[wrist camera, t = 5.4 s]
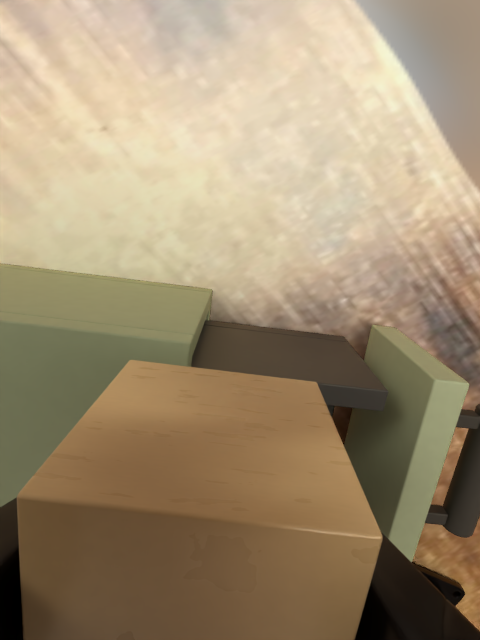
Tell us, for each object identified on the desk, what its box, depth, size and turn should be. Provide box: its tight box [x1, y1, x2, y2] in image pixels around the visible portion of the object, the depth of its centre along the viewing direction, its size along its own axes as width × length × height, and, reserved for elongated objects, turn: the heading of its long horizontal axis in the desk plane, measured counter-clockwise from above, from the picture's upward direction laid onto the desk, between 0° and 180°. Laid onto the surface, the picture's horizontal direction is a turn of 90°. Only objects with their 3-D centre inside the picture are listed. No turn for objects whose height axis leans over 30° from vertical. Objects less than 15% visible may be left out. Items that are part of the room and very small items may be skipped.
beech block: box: [17, 360, 383, 640], centre depth 7 cm, size 5×5×5 cm
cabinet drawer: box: [191, 320, 480, 562], centre depth 17 cm, size 17×10×6 cm, turn 83°
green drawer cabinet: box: [0, 264, 212, 507], centre depth 16 cm, size 14×12×8 cm
